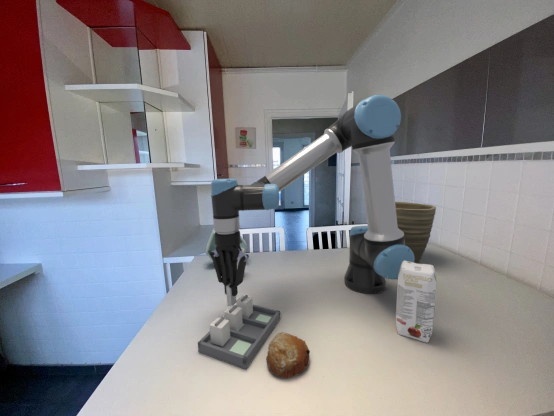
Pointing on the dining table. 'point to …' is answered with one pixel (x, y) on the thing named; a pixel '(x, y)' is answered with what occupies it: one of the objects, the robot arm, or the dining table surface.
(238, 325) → the tab mid
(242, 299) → the tab far
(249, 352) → the switch bank
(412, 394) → the dining table surface
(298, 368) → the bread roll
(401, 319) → the juice carton
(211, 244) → the planter
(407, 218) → the vase
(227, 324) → the tab near
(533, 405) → the dining table surface
